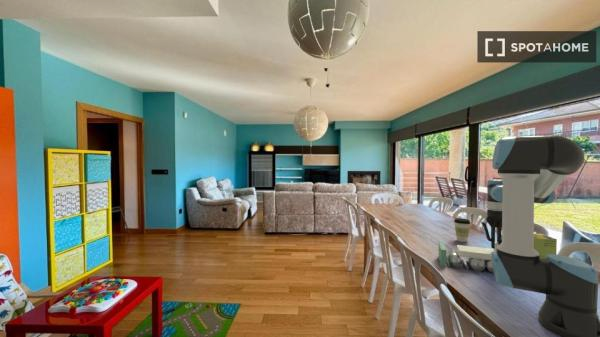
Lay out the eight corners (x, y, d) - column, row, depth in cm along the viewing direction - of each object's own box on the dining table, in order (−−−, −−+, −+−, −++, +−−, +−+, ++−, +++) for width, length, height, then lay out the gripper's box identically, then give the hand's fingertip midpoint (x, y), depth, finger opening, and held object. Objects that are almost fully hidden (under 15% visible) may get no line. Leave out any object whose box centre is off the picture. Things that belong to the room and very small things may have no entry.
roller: (464, 264, 131) (457, 254, 132) (454, 269, 133) (446, 259, 134) (460, 256, 142) (454, 247, 143) (451, 261, 144) (444, 252, 145)
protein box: (556, 268, 130) (557, 239, 130) (522, 266, 134) (523, 237, 133) (541, 261, 141) (542, 233, 140) (510, 258, 144) (510, 232, 143)
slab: (497, 260, 126) (497, 255, 125) (459, 256, 132) (459, 250, 132) (491, 254, 135) (491, 248, 135) (456, 250, 141) (456, 244, 141)
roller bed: (523, 278, 120) (523, 265, 120) (470, 270, 129) (471, 258, 128) (512, 267, 133) (512, 255, 133) (465, 260, 141) (465, 250, 141)
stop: (446, 266, 133) (446, 250, 133) (441, 266, 134) (441, 249, 134) (443, 257, 146) (443, 242, 146) (438, 257, 147) (438, 241, 147)
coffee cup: (450, 239, 180) (450, 218, 180) (460, 238, 183) (461, 217, 183) (463, 243, 171) (463, 221, 170) (473, 242, 174) (474, 220, 173)
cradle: (468, 270, 129) (468, 267, 129) (448, 267, 133) (448, 264, 133) (463, 260, 142) (463, 257, 142) (445, 257, 145) (445, 255, 145)
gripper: (509, 209, 130) (509, 254, 131) (479, 207, 135) (479, 250, 136) (514, 211, 123) (514, 259, 124) (482, 209, 129) (482, 255, 129)
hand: (495, 254), depth 130 cm, fingers closed
